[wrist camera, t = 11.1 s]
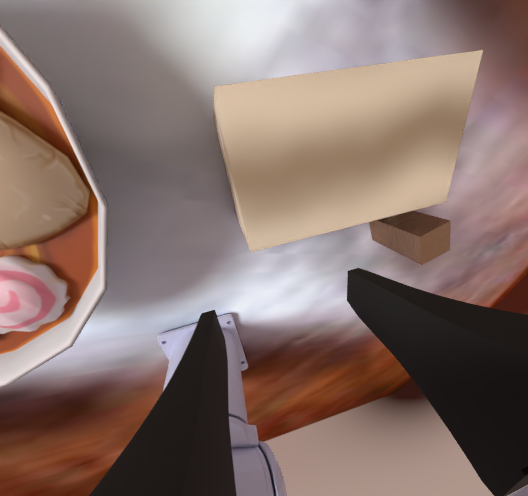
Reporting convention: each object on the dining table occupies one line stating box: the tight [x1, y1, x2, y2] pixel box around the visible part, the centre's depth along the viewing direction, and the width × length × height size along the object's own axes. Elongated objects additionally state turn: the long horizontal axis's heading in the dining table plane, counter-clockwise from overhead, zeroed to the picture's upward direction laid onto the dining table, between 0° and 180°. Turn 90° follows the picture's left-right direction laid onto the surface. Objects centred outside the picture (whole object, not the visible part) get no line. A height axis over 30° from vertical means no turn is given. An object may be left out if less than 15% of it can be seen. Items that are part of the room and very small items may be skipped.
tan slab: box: [214, 50, 483, 252], centre depth 14 cm, size 8×15×7 cm, turn 100°
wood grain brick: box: [369, 211, 450, 265], centre depth 17 cm, size 12×3×6 cm, turn 25°
